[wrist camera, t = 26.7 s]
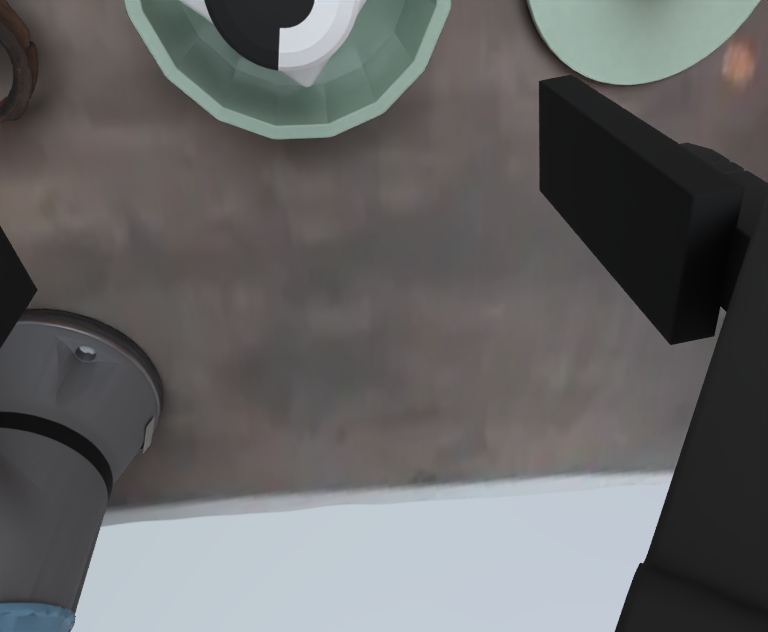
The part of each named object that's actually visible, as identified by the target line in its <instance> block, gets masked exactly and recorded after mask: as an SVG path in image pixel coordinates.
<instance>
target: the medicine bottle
mask: <svg viewBox="0 0 768 632" xmlns="http://www.w3.org/2000/svg"><path fill="white" fill-rule="evenodd" d="M180 1H181V2H182V3H183V4H185V5H186V6H188V7H189V8H191V9H192V10H194V11H195V12H196V13H198V14H199V15H201V16H202V17H204V18H205V19H207V20H208V21H210V22H211V23H212V24H214V26H215V28H216V29H217V31H218V32H219V33H220V35H221V36H222V38H223V39H224V40H225V41H226V42H227V43H228V45H229V46H230V47H231V48H232V49H234V50H235V51H236V52H237V53H238V54H239V55H241V56H242V57H244V58H245V59H247V60H248V61H250V62H252V63H254V64H256V65H258V66H261V67H264V68H267V69H271V70H277V71H282V72H283V73H285V74H286V75H288V76H289V77H291V78H292V79H293V80H295V81H296V82H298V83H299V84H301V85H302V86H304V87H311V86H312V85H313V84H314V82H315V81H316V79H317V78H318V76H319V75H320V73H321V71H322V70H323V68H324V67H325V65H326V64H327V62H328V61H329V59H330V57H331V56H332V54H334V53H335V52H336V51H337V50H338V49H339V47H340V46H341V45H342V44H343V43H344V41H345V40H346V38H347V37H348V35H349V33H350V31H351V29H352V27H353V25H354V22H355V20H356V17H357V15H358V14H359V12H360V10H361V9H362V7H363V6H364V4H365V3H366V1H367V0H180Z"/></svg>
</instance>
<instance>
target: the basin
mask: <svg viewBox="0 0 768 632" xmlns="http://www.w3.org/2000/svg"><path fill="white" fill-rule="evenodd" d="M124 2H125V6H126V11H127V14H128V16H129V18H130V20H131V22H132V23H133V25H134V27H135V28H136V30H137V31H138V33H139V35H140V36H141V38H142V40H143V41H144V43H145V44H146V46H147V48H148V49H149V51H150V53H151V54H152V56H153V58H154V59H155V61H156V62H157V64H158V66H159V67H160V69H161V71H162V72H163V74H164V75H165V76H167V79H168V80H170V81H171V82H172V83H173V84H174V85H176V86H177V87H178V88H179V89H180V90H182V91H183V92H184V93H185V94H187V95H188V96H189V97H190V98H191V99H193V100H194V101H195V102H196V103H198V104H199V105H200V106H201V107H202V108H204V109H205V110H206V111H207V112H208V113H210V114H211V115H212V116H213V117H215V118H216V119H217V120H219V121H222V122H225V123H228V124H231V125H234V126H237V127H239V128H242V129H245V130H248V131H251V132H254V133H257V134H259V135H262V136H265V137H268V138H271V139H302V138H328V137H331V136H332V137H333V136H335V135H338V134H340V133H342V132H344V131H346V130H349V129H351V128H353V127H355V126H357V125H360V124H362V123H364V122H366V121H368V120H371V119H373V118H375V117H377V116H379V115H381V114H383V113H385V112H386V111H387V109H388V108H389V107H390V106H391V105H392V104H393V103H394V102H395V101H396V100H397V99H398V98H399V97H400V96H401V95H402V94H403V93H404V92H405V91H406V89H407V88H408V87H409V86H410V85H411V84H412V83H413V82H414V81H415V80H416V79H417V78H418V77H419V76H420V75H421V74H422V73H423V72H424V69H426V67H427V64H428V62H429V60H430V57H431V55H432V53H433V50H434V48H435V45H436V43H437V41H438V38H439V36H440V34H441V31H442V29H443V26H444V24H445V22H446V19H447V17H448V15H449V12H450V8H451V0H367V1H366V3H365V4H364V6H363V7H362V9H361V10H360V12H359V14H358V15H357V17H356V20H355V22H354V25H353V27H352V29H351V31H350V33H349V35H348V37H347V38H346V40H345V41H344V43H343V44H342V45H341V46H340V47H339V49H338V50H337V51H336V52H335V53H334V54H332V56H331V57H330V59H329V61H328V62H327V64H326V65H325V67H324V68H323V70H322V71H321V73H320V75H319V76H318V78H317V79H316V81H315V82H314V84H313V85H312V86H311V87H304V86H302V85H301V84H299V83H298V82H296V81H295V80H293V79H292V78H291V77H289V76H288V75H286V74H285V73H283V72H282V71H277V70H271V69H267V68H264V67H261V66H258V65H256V64H254V63H252V62H250V61H248V60H247V59H245V58H244V57H242V56H241V55H239V54H238V53H237V52H236V51H235V50H234V49H232V48H231V47H230V46H229V45H228V43H227V42H226V41H225V40H224V39H223V38H222V36H221V35H220V33H219V32H218V31H217V29H216V28H215V26H214V24H212V23H211V22H210V21H208V20H207V19H205V18H204V17H202V16H201V15H199V14H198V13H196V12H195V11H194V10H192V9H191V8H189V7H188V6H186V5H185V4H183V3H182V2H181V1H180V0H124Z"/></svg>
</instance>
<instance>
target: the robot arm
mask: <svg viewBox="0 0 768 632" xmlns="http://www.w3.org/2000/svg"><path fill="white" fill-rule="evenodd" d="M539 156H540V191H541V192H542V193H543V195H544V196H545V197H546V198H547V199H548V201H549V202H550V203H551V204H552V205H553V207H554V208H555V209H556V210H557V211H558V212H559V214H560V215H561V216H562V217H563V218H564V220H565V221H566V222H567V223H568V224H569V225H570V227H571V228H572V229H573V230H574V231H575V233H576V234H577V235H578V236H579V237H580V238H581V240H582V241H583V242H584V243H585V244H586V246H587V247H588V248H589V249H590V250H591V252H592V253H593V254H594V255H595V256H596V257H597V259H598V260H599V261H600V262H601V263H602V265H603V266H604V267H605V268H606V269H607V270H608V272H609V273H610V274H611V275H612V276H613V278H614V279H615V280H616V281H617V282H618V284H619V285H620V286H621V287H622V288H623V289H624V291H625V292H626V293H627V294H628V295H629V297H630V298H631V299H632V300H633V301H634V302H635V304H636V305H637V306H638V307H639V308H640V310H641V311H642V312H643V313H644V314H645V315H646V317H647V318H648V319H649V320H650V321H651V323H652V324H653V325H654V326H655V327H656V329H657V330H658V331H659V332H660V333H661V334H662V336H663V337H664V338H665V339H666V340H667V342H668V343H669V344H670V345H673V344H678V343H683V342H688V341H693V340H698V339H702V338H707V337H712V336H714V335H715V330H716V325H717V320H718V315H719V310H720V306H721V307H722V308H723V309H724V310H725V311H726V312H727V313H726V316H725V319H724V322H723V325H722V328H721V331H720V334H719V337H718V340H717V343H716V346H715V350H714V353H713V356H712V359H711V362H710V365H709V368H708V371H707V374H706V377H705V380H704V383H703V386H702V389H701V392H700V395H699V398H698V401H697V405H696V408H695V411H694V414H693V417H692V420H691V423H690V426H689V429H688V432H687V435H686V438H685V441H684V444H683V447H682V450H681V453H680V456H679V460H678V463H677V466H676V469H675V472H674V475H673V478H672V481H671V484H670V487H669V490H668V493H667V496H666V500H665V503H664V506H663V509H662V511H661V515H660V518H659V521H658V524H657V527H656V530H655V533H654V536H653V539H652V542H651V545H650V548H649V551H648V554H647V557H646V559H645V561H644V563H640V564H639V566H638V568H637V570H636V572H635V575H634V577H633V580H632V583H631V586H630V589H629V591H628V594H627V597H626V600H625V603H624V606H623V609H622V612H621V615H620V618H619V621H618V624H617V627H616V630H615V632H768V183H766V182H765V181H763V180H761V179H760V178H758V177H757V176H755V175H753V174H752V173H750V172H748V171H744V169H743V168H742V167H740V166H738V165H737V164H735V163H733V162H731V163H730V162H729V159H727V158H725V157H724V156H722V155H720V154H719V153H717V152H715V151H714V150H712V149H708V148H704V147H701V146H697V145H694V144H690V143H683V144H678V143H677V142H675V141H674V140H672V139H670V138H669V137H667V136H666V135H664V134H663V133H661V132H660V131H658V130H656V129H655V128H653V127H652V126H650V125H649V124H647V123H646V122H644V121H642V120H641V119H639V118H638V117H636V116H635V115H633V114H632V113H630V112H628V111H627V110H625V109H624V108H622V107H621V106H619V105H618V104H616V103H615V102H613V101H611V100H610V99H608V98H607V97H605V96H604V95H602V94H601V93H599V92H597V91H596V90H594V89H593V88H591V87H590V86H588V85H587V84H585V83H583V82H582V81H580V80H579V79H577V78H576V77H574V76H573V75H567V76H562V77H557V78H552V79H547V80H542V81H539ZM36 291H37V288H36V287H35V285H34V283H33V281H32V280H31V278H30V276H29V275H28V273H27V271H26V269H25V268H24V266H23V264H22V263H21V261H20V259H19V257H18V256H17V254H16V252H15V250H14V249H13V247H12V245H11V244H10V242H9V240H8V238H7V237H6V235H5V233H4V232H3V230H2V228H1V226H0V632H70V631H71V629H72V628H73V626H74V623H75V617H76V616H75V612H76V608H77V605H78V601H79V598H80V595H81V591H82V588H83V585H84V581H85V578H86V574H87V570H88V568H89V564H90V561H91V557H92V554H93V551H94V547H95V544H96V540H97V537H98V534H99V530H100V527H101V524H102V520H103V517H104V514H105V510H106V507H107V504H108V501H109V498H110V494H111V491H112V488H113V486H114V484H115V483H116V481H117V480H118V479H119V477H120V476H121V475H122V473H123V472H124V471H125V469H126V468H127V467H128V465H129V464H130V462H131V461H132V460H133V458H135V457H136V456H137V455H138V454H139V453H140V452H141V451H142V449H143V448H144V449H143V454H144V452H145V451H146V450H147V448H148V447H149V446H150V444H151V440H152V436H153V434H154V432H155V430H156V427H157V424H158V420H159V417H160V413H161V409H162V403H163V391H162V385H161V381H160V378H159V376H158V373H157V371H156V369H155V368H154V366H153V364H152V363H151V361H150V360H149V358H148V357H147V356H146V355H145V354H144V353H143V351H142V350H141V349H139V348H138V347H137V346H136V345H135V344H134V343H133V342H132V341H130V340H129V339H128V338H126V337H125V336H124V335H122V334H121V333H119V332H117V331H116V330H114V329H112V328H110V327H108V326H106V325H104V324H102V323H100V322H98V321H95V320H93V319H90V318H87V317H84V316H81V315H77V314H73V313H68V312H63V311H57V310H47V309H28V310H25V309H26V307H27V306H28V304H29V303H30V301H31V299H32V298H33V296H34V295H35V293H36Z"/></svg>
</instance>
